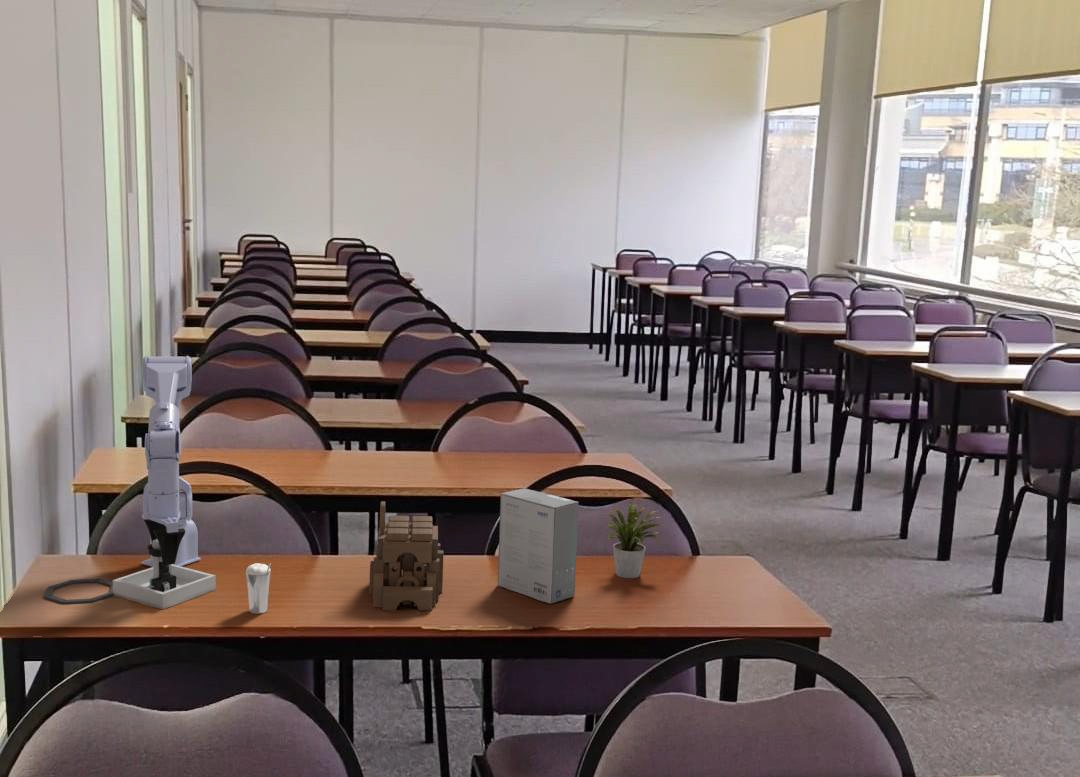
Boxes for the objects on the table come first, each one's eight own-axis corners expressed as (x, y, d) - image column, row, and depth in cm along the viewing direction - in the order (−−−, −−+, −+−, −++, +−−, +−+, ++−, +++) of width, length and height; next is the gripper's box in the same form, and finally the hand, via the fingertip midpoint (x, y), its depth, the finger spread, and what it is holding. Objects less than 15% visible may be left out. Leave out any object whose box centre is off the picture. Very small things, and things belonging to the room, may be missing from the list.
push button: (153, 598, 220) (153, 548, 218) (136, 592, 223) (135, 542, 221) (182, 589, 225) (182, 540, 224) (165, 583, 228) (164, 535, 227)
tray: (166, 576, 234) (166, 562, 234) (215, 589, 228) (215, 575, 227) (112, 595, 222) (112, 580, 222) (162, 609, 216) (162, 594, 215)
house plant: (623, 591, 237) (627, 514, 234) (579, 572, 248) (583, 499, 245) (671, 579, 246) (676, 505, 243) (627, 562, 257) (631, 491, 254)
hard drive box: (576, 597, 232) (580, 502, 229) (550, 605, 227) (555, 508, 224) (521, 578, 243) (524, 486, 240) (495, 585, 237) (499, 492, 234)
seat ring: (86, 576, 232) (86, 574, 232) (131, 589, 226) (131, 587, 226) (30, 594, 221) (30, 592, 221) (76, 608, 215) (76, 606, 215)
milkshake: (261, 617, 214) (261, 566, 212) (240, 611, 217) (240, 560, 215) (278, 611, 218) (278, 560, 216) (258, 604, 220) (258, 555, 219)
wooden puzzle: (442, 611, 221) (445, 518, 218) (366, 611, 220) (368, 517, 217) (441, 574, 243) (444, 489, 240) (372, 574, 242) (374, 488, 239)
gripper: (134, 484, 226) (135, 550, 228) (150, 502, 214) (151, 572, 216) (171, 480, 229) (171, 545, 232) (189, 498, 217) (189, 567, 219)
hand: (164, 558), depth 224 cm, fingers open, 7 cm apart
